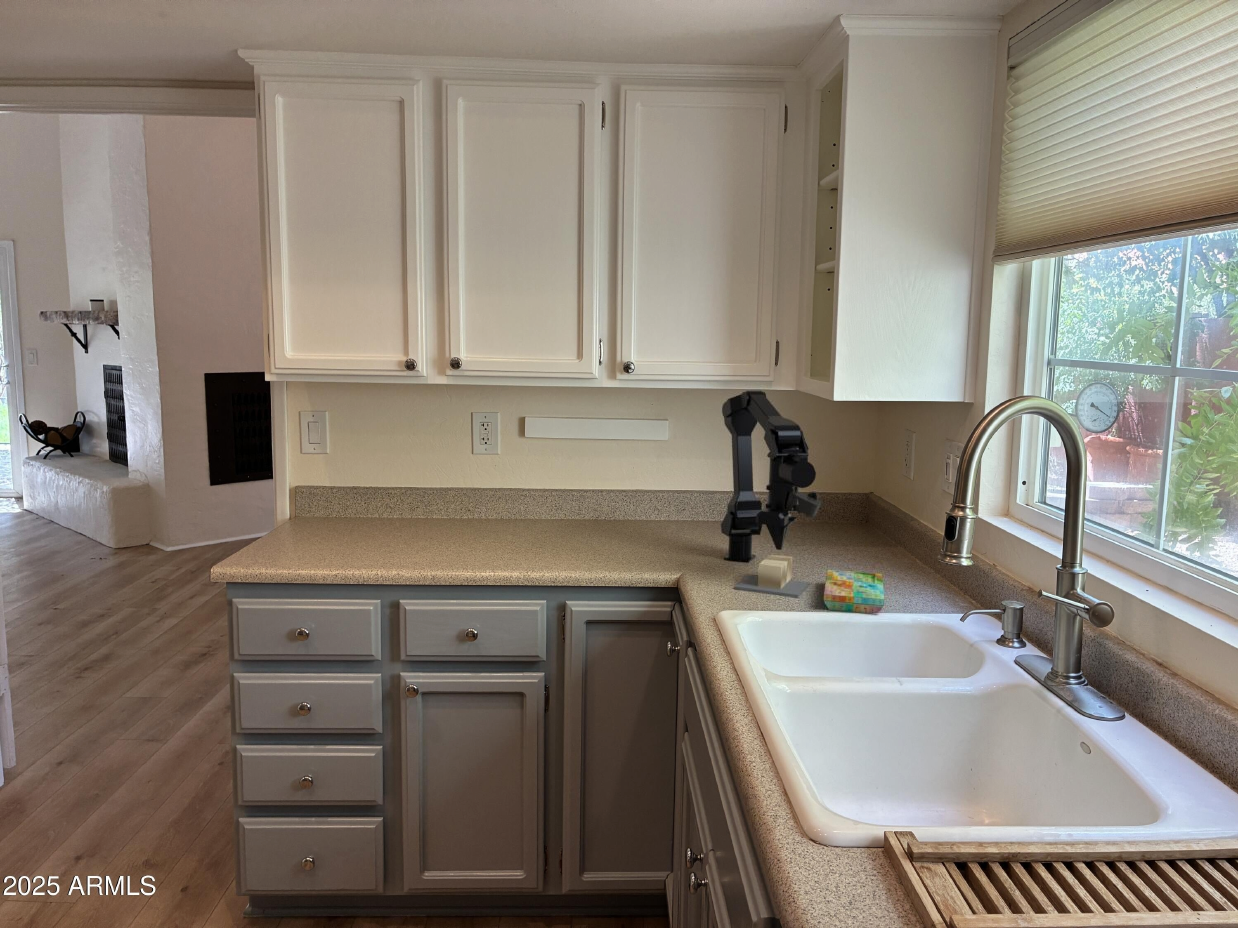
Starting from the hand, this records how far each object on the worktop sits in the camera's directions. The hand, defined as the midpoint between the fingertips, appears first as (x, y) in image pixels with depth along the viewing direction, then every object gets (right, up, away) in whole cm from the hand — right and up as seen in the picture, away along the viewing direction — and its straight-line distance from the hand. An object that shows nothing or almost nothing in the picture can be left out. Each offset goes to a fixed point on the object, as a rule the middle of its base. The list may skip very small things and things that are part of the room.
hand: (779, 549), depth 206 cm
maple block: (+1, -4, +3) cm, 5 cm away
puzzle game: (+14, -10, -11) cm, 20 cm away
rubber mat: (-2, -8, -3) cm, 9 cm away
